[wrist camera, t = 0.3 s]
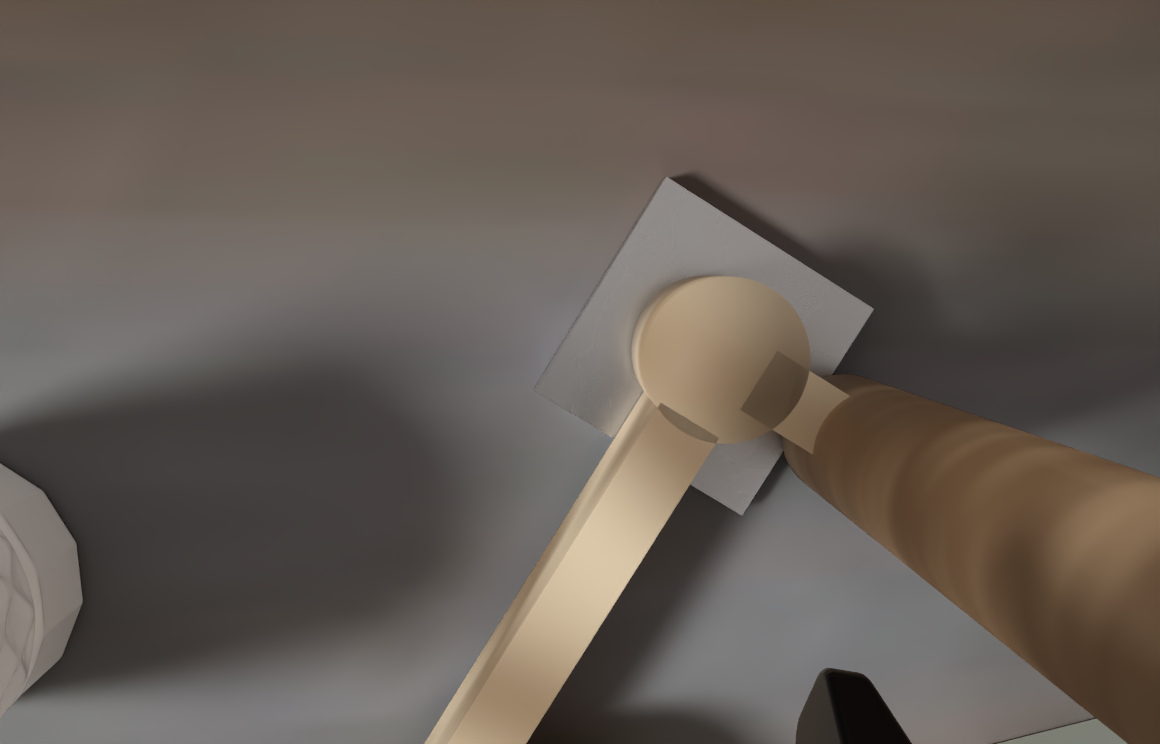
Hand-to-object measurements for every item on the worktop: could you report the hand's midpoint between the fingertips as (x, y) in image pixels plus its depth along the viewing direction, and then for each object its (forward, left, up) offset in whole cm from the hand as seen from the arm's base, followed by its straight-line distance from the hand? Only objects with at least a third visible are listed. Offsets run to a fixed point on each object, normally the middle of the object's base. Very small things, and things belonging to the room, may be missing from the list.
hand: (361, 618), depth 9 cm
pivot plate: (0, -6, -14) cm, 16 cm away
